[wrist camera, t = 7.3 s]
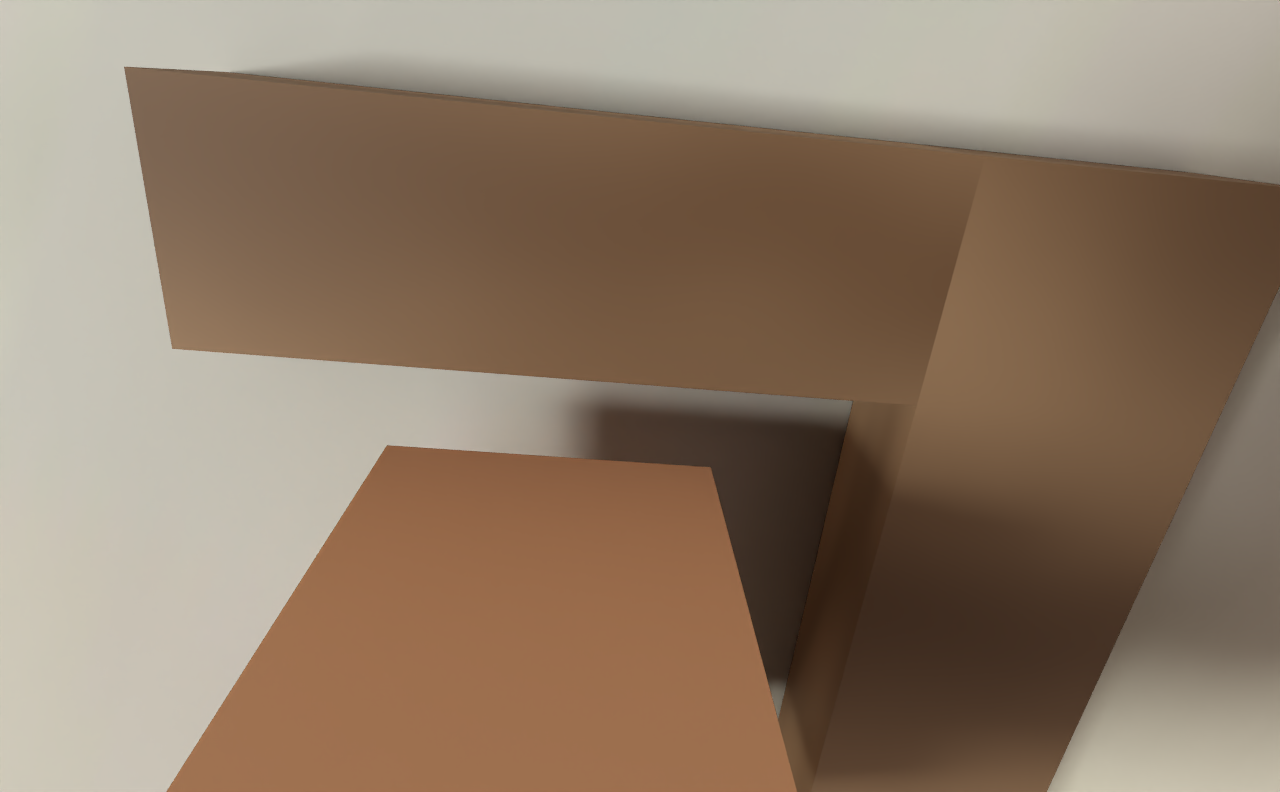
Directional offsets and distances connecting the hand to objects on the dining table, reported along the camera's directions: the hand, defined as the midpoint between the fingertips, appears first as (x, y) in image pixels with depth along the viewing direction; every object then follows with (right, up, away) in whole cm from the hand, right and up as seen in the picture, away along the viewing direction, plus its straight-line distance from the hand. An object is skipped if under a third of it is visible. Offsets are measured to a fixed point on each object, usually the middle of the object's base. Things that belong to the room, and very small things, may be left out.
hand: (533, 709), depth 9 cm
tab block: (0, +1, +1) cm, 1 cm away
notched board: (+2, +1, +3) cm, 4 cm away
